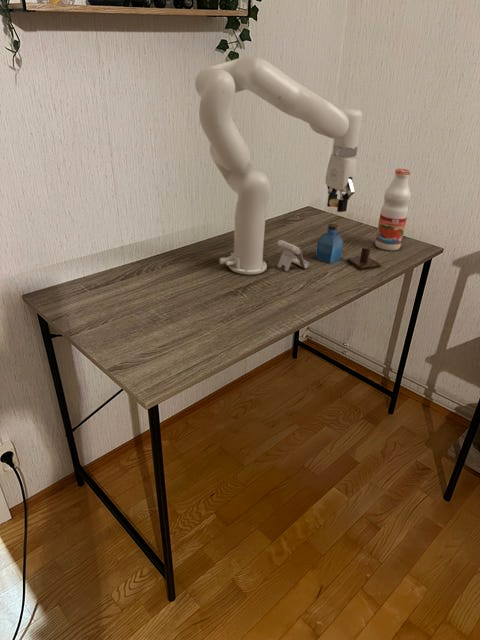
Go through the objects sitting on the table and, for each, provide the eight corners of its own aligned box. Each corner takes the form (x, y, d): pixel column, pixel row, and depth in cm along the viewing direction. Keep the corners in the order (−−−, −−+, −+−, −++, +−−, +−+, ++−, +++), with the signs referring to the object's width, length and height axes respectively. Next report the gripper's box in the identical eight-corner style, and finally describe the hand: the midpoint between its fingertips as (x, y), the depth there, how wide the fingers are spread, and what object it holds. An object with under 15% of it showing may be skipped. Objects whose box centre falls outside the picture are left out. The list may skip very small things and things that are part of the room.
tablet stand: (308, 268, 163) (311, 244, 159) (291, 273, 159) (294, 249, 154) (290, 259, 169) (292, 236, 164) (273, 264, 164) (275, 241, 160)
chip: (334, 208, 159) (335, 203, 158) (326, 203, 163) (326, 199, 162) (348, 206, 161) (348, 202, 160) (339, 202, 165) (339, 198, 164)
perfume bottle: (315, 257, 171) (319, 224, 165) (326, 253, 175) (330, 221, 169) (330, 263, 167) (335, 229, 161) (340, 258, 171) (345, 225, 165)
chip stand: (360, 270, 164) (363, 253, 161) (346, 260, 170) (349, 244, 167) (380, 266, 166) (383, 250, 164) (365, 258, 173) (368, 242, 170)
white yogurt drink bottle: (399, 243, 187) (415, 168, 173) (401, 252, 179) (418, 174, 165) (374, 240, 189) (388, 165, 175) (374, 249, 181) (389, 171, 167)
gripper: (319, 147, 159) (313, 202, 168) (350, 158, 145) (341, 217, 154) (339, 146, 161) (331, 200, 170) (371, 157, 148) (361, 215, 157)
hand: (336, 208), depth 162 cm, fingers closed on chip, 5 cm apart
